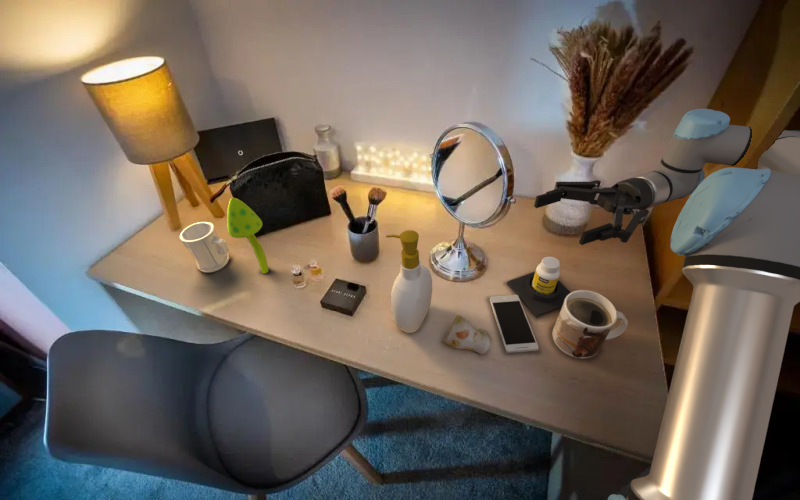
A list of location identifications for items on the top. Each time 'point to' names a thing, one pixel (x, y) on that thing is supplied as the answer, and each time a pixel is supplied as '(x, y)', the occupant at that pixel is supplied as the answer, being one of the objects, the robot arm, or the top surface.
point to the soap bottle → (410, 286)
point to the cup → (205, 246)
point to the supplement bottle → (546, 276)
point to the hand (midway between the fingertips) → (557, 219)
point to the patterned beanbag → (467, 336)
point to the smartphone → (513, 324)
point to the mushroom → (246, 227)
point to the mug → (586, 324)
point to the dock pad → (534, 304)
